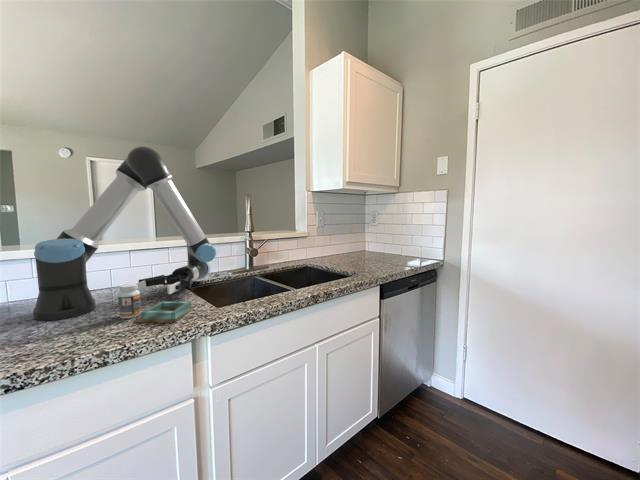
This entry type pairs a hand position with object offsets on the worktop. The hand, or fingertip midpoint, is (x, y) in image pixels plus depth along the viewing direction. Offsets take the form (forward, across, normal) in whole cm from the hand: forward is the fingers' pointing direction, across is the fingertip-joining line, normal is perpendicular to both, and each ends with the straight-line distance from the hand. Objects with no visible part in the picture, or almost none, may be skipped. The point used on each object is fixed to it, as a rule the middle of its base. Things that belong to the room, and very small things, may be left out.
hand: (149, 289), depth 98 cm
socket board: (+8, -11, -6) cm, 15 cm away
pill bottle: (+9, 0, -6) cm, 11 cm away
